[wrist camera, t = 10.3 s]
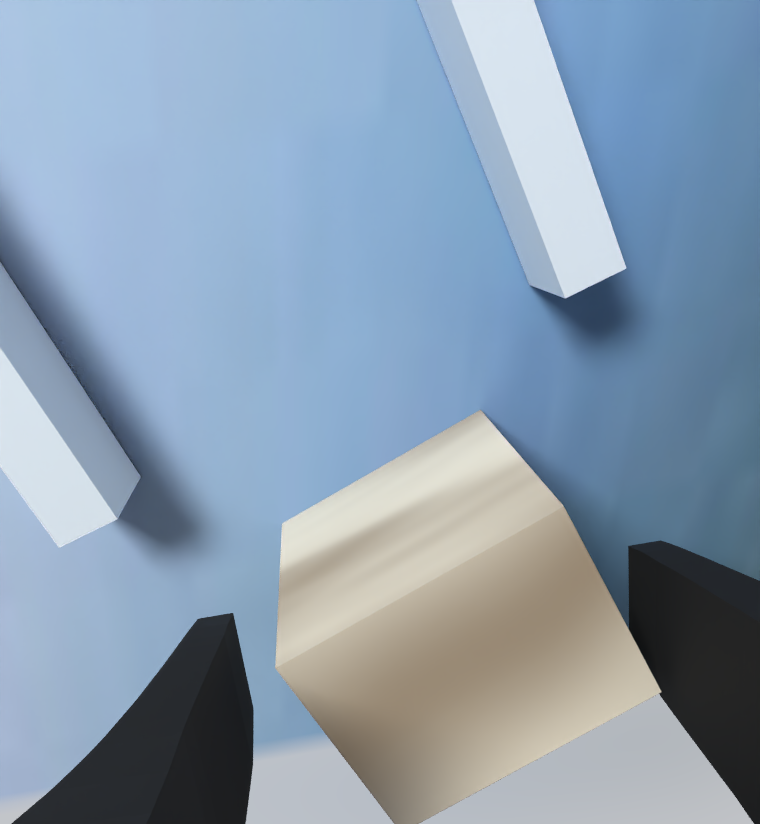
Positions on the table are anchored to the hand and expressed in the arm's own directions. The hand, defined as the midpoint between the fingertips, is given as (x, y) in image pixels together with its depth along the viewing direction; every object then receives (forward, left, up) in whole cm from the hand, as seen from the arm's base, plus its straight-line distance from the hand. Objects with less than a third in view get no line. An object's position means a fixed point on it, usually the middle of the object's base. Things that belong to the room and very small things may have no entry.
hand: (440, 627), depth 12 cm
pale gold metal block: (0, 0, -4) cm, 4 cm away
